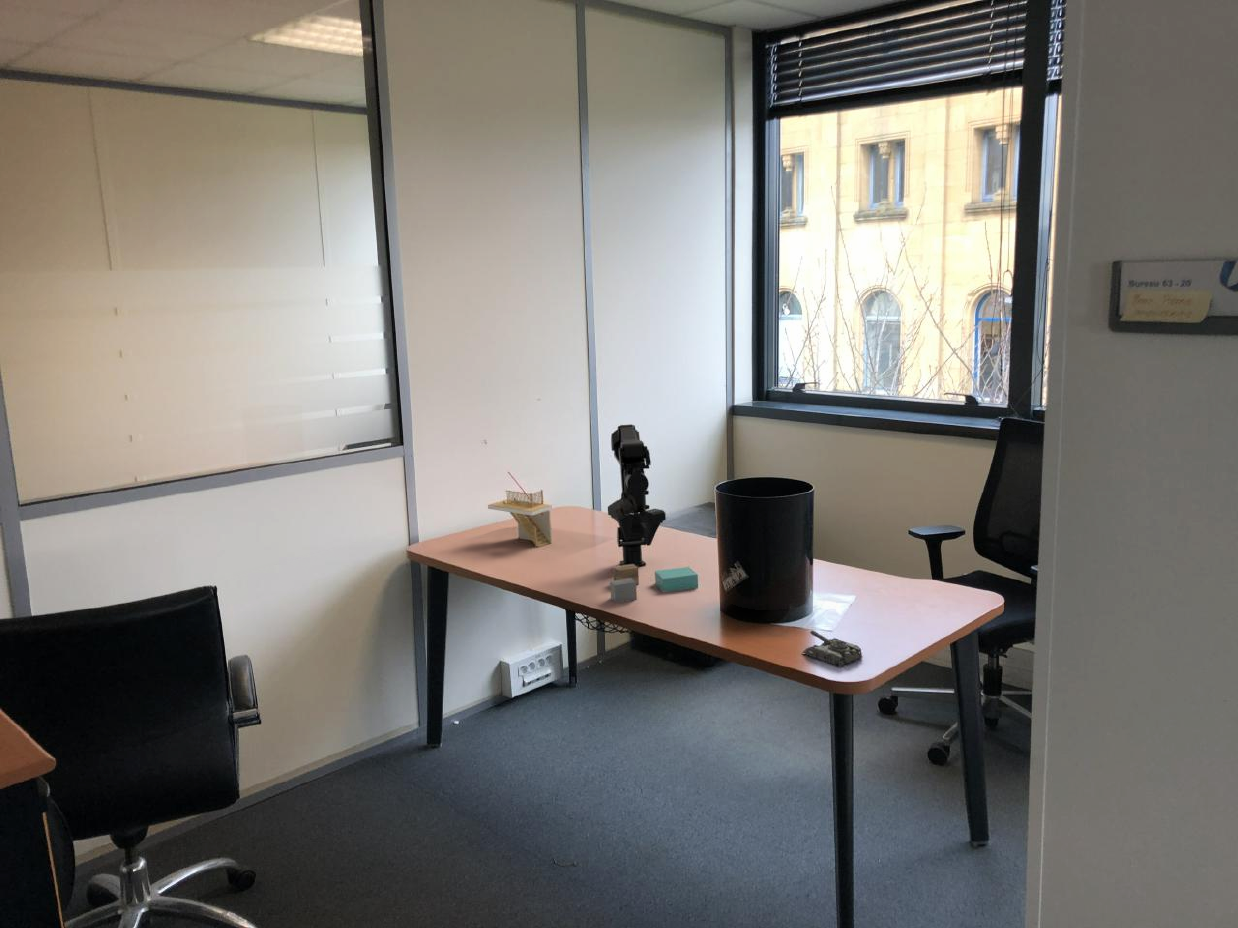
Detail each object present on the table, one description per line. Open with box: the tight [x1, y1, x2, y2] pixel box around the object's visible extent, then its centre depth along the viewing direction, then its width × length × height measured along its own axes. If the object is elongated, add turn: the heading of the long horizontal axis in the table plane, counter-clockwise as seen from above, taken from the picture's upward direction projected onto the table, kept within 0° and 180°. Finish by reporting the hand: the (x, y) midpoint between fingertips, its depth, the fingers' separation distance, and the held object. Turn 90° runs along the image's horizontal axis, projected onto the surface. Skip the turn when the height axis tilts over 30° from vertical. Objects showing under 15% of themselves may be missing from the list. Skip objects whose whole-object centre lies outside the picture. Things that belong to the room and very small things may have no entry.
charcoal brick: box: [609, 578, 638, 604], centre depth 260 cm, size 4×6×5 cm, turn 109°
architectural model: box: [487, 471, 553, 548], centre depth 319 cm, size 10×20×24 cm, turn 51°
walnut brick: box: [613, 564, 640, 586], centre depth 272 cm, size 4×6×5 cm, turn 109°
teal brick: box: [654, 566, 699, 593], centre depth 269 cm, size 8×10×4 cm
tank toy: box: [801, 630, 863, 668], centre depth 214 cm, size 12×10×5 cm
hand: (637, 542), depth 268 cm, fingers open, 9 cm apart
